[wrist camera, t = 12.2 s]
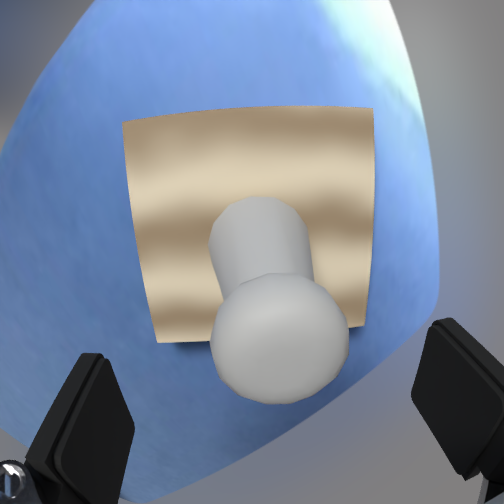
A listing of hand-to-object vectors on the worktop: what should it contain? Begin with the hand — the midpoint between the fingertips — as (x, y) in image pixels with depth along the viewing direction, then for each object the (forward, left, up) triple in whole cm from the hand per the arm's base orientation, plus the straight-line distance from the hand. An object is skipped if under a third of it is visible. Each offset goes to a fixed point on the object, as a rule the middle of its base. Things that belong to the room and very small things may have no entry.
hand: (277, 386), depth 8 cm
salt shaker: (0, 0, -14) cm, 14 cm away
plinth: (0, 0, -16) cm, 16 cm away
